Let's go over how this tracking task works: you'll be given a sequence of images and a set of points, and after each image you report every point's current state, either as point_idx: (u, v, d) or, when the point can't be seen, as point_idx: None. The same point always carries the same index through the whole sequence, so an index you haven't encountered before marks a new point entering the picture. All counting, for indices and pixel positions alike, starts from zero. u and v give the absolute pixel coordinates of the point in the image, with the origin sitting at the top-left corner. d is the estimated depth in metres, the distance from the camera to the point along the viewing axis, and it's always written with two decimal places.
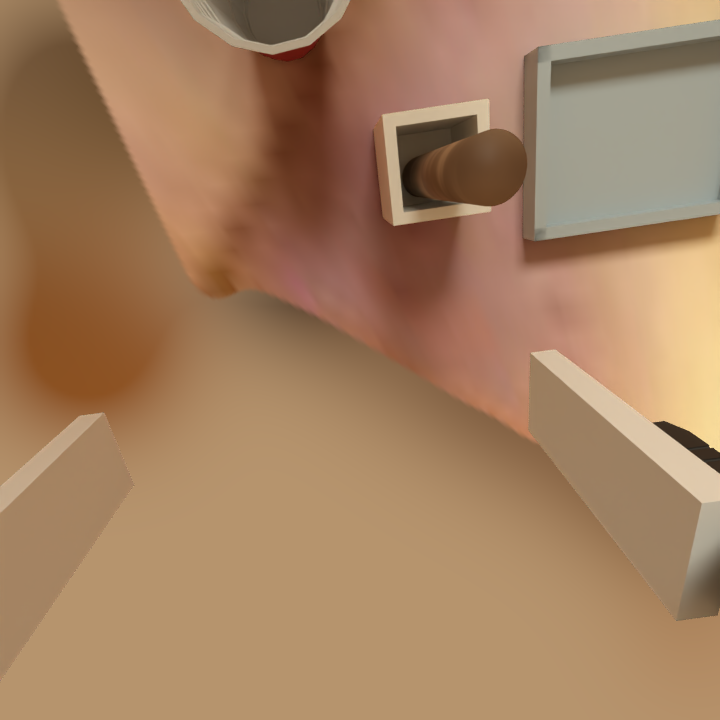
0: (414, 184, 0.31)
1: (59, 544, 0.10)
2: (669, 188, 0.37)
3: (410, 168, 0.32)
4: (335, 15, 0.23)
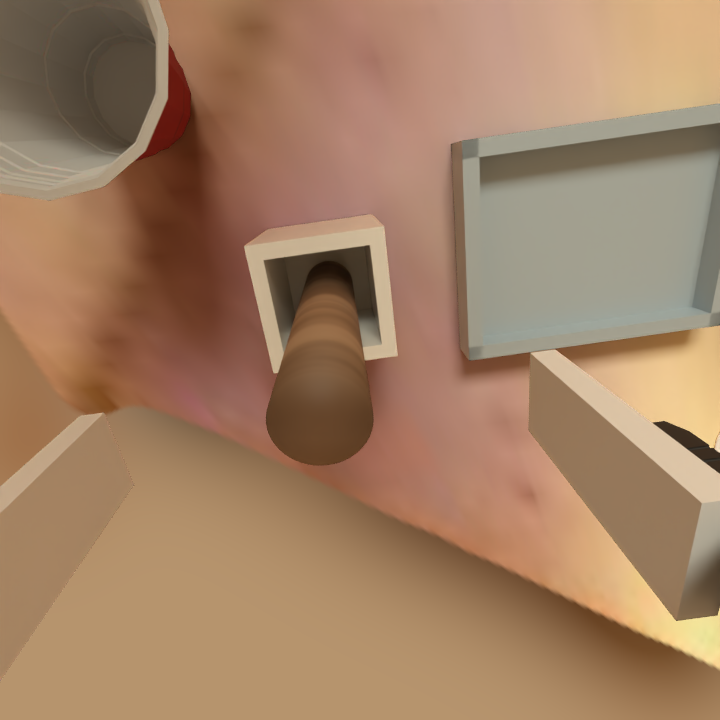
0: None
1: (59, 544, 0.10)
2: (634, 295, 0.31)
3: None
4: (135, 148, 0.16)
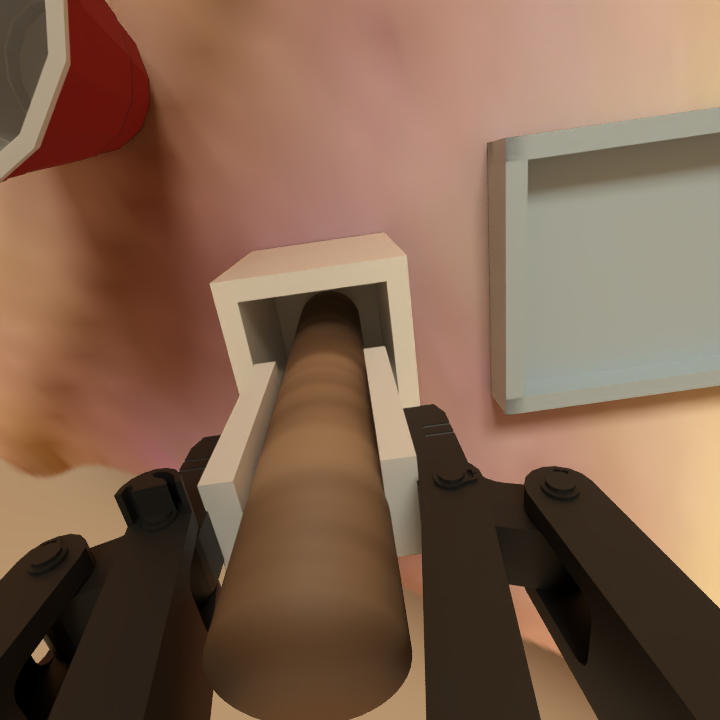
0: None
1: None
2: (711, 332, 0.25)
3: None
4: (18, 142, 0.10)
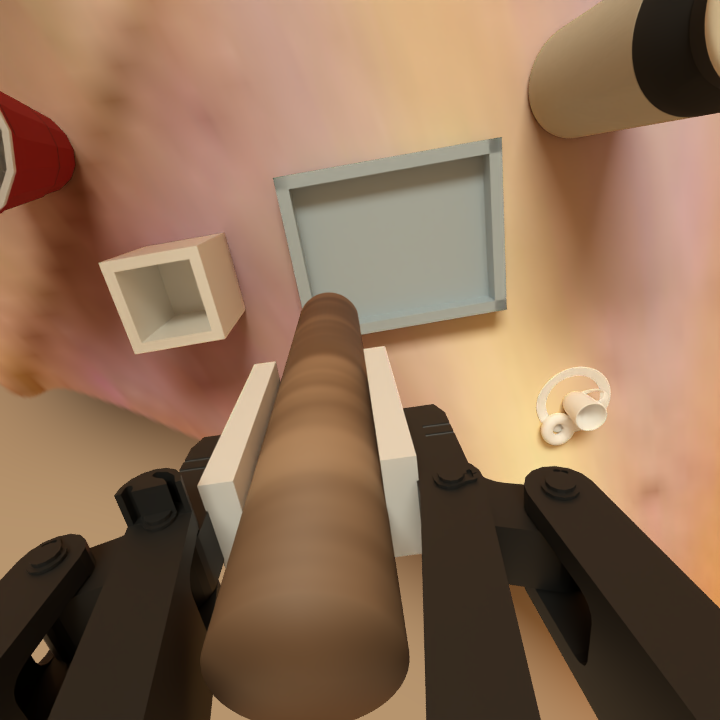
0: None
1: None
2: (439, 288, 0.39)
3: None
4: None
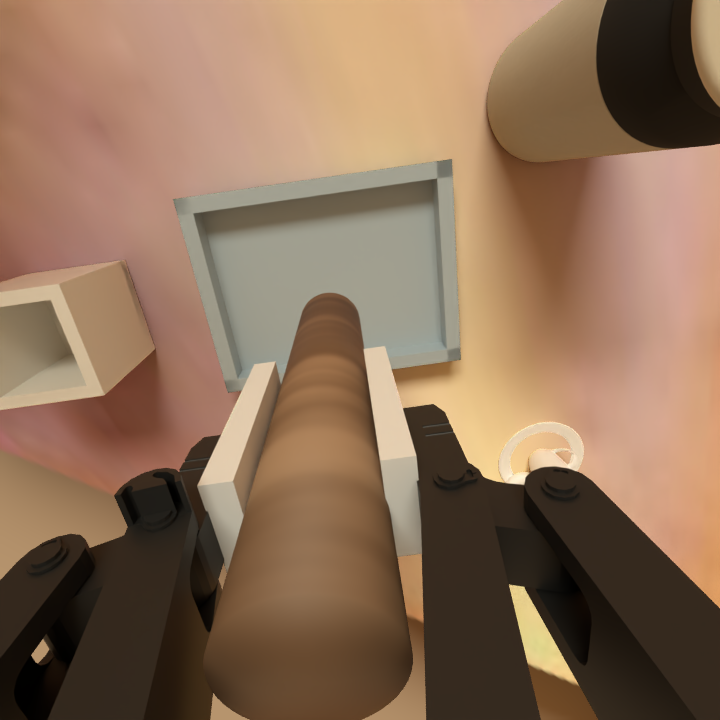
0: None
1: None
2: (383, 331, 0.33)
3: (295, 336, 0.19)
4: None
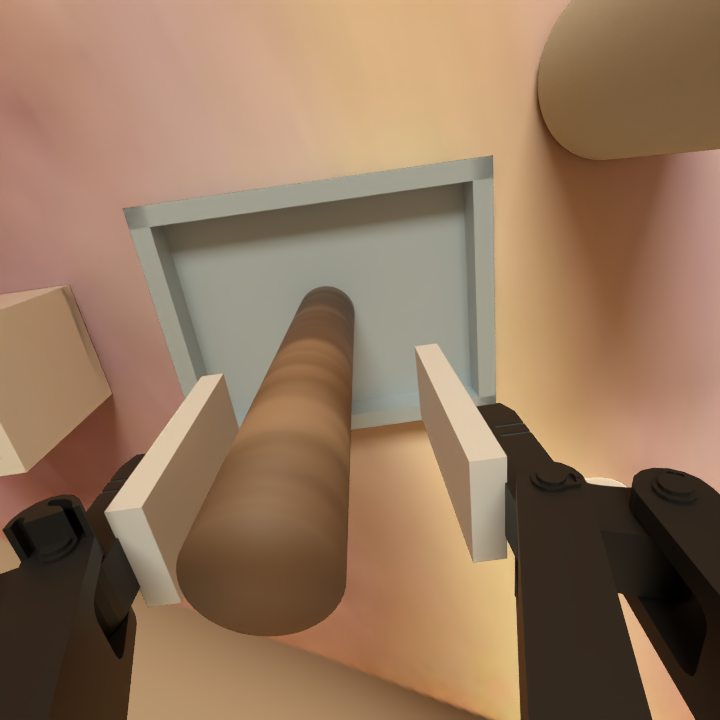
0: None
1: (209, 478, 0.12)
2: (398, 373, 0.26)
3: None
4: None
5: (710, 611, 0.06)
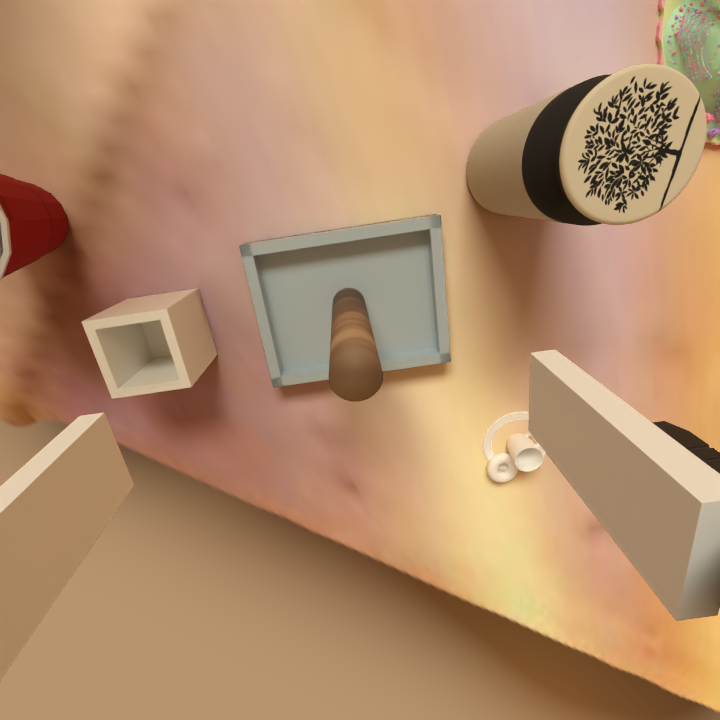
0: None
1: (59, 544, 0.10)
2: (391, 340, 0.43)
3: (332, 309, 0.38)
4: None
5: None
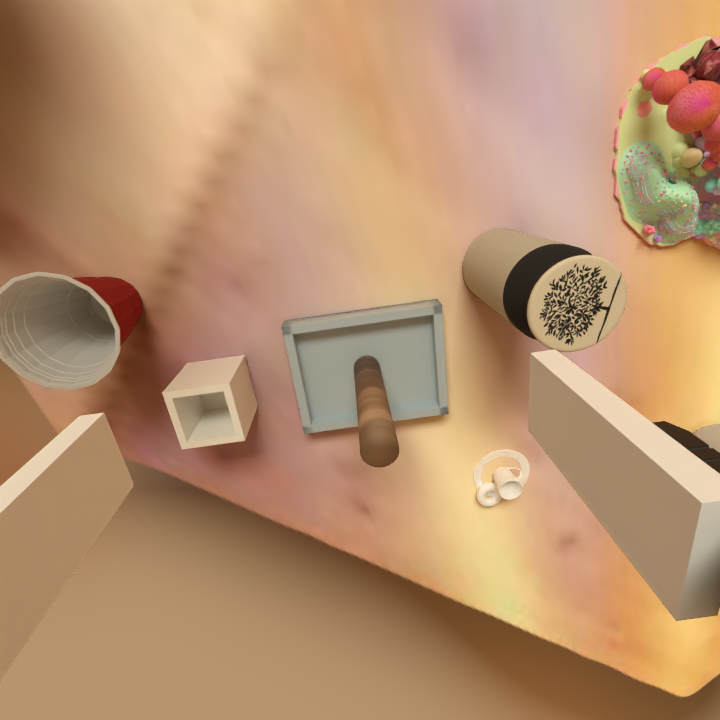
0: None
1: (59, 544, 0.10)
2: (400, 395, 0.54)
3: (355, 376, 0.48)
4: (107, 370, 0.39)
5: None
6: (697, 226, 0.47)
